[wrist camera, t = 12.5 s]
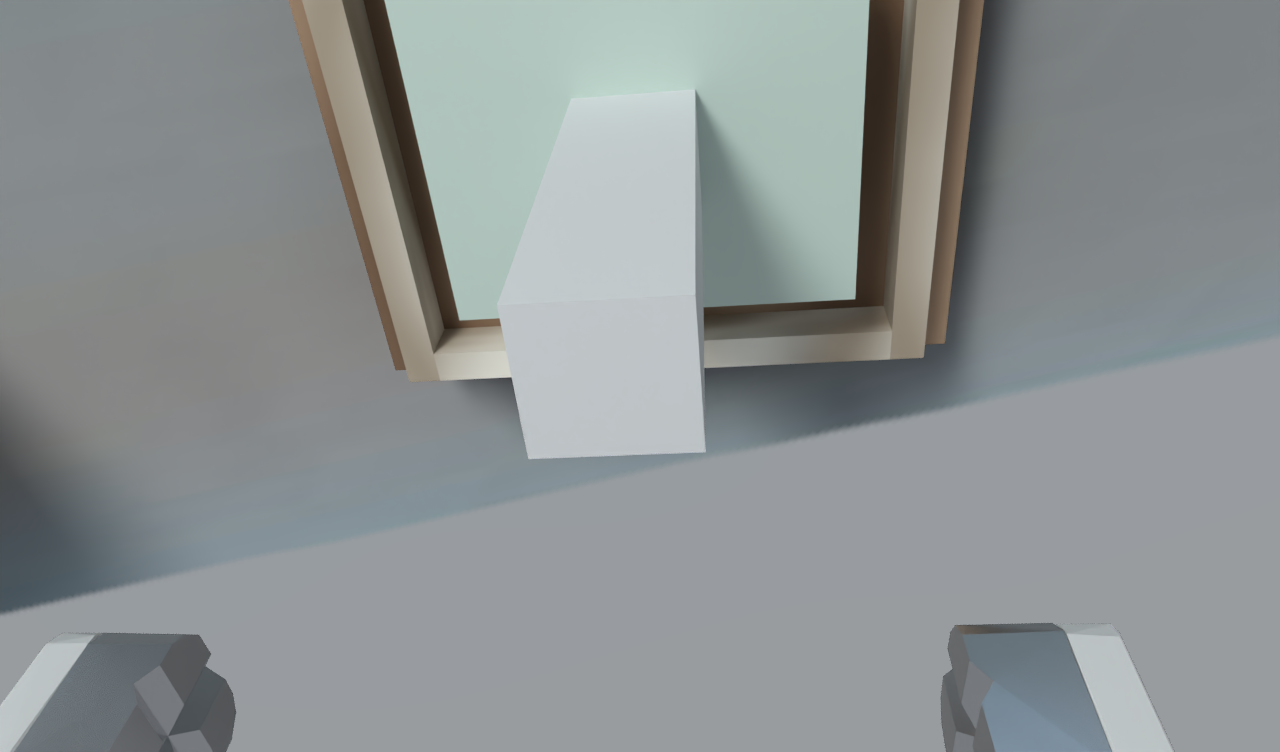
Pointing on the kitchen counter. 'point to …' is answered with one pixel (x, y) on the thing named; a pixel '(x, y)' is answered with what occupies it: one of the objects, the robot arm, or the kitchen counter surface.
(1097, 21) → the kitchen counter surface
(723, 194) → the mint green slab
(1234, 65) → the kitchen counter surface
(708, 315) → the tray
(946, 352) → the kitchen counter surface
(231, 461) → the kitchen counter surface
